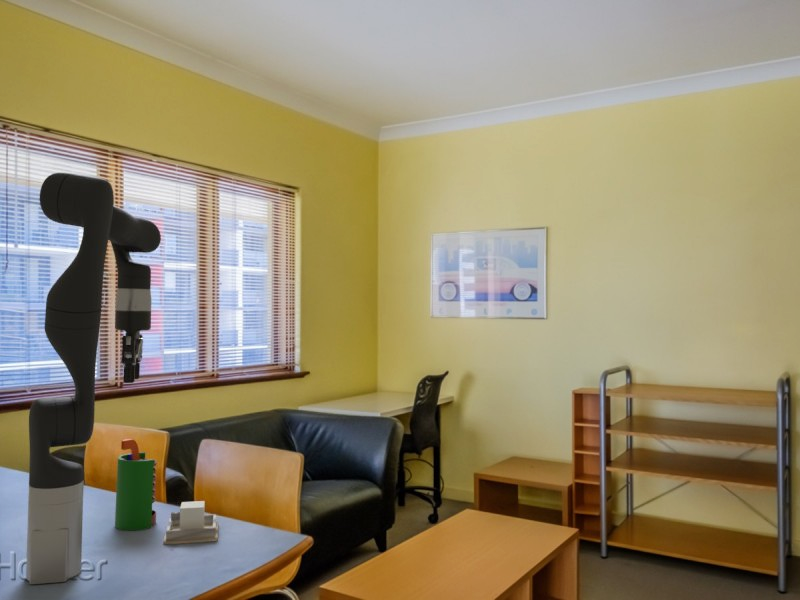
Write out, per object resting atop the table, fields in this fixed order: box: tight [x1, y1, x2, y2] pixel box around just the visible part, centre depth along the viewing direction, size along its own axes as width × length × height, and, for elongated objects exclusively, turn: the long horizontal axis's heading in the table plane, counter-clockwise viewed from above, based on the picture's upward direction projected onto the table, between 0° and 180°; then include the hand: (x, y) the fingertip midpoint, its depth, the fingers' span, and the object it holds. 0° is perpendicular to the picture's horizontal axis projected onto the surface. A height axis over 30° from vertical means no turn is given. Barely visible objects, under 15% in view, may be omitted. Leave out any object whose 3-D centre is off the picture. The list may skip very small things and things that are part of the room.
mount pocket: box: [162, 513, 219, 546], centre depth 147 cm, size 11×11×3 cm
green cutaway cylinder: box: [114, 438, 158, 531], centre depth 154 cm, size 10×9×20 cm
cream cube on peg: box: [170, 500, 206, 530], centre depth 147 cm, size 5×7×6 cm
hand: (131, 380), depth 148 cm, fingers open, 8 cm apart
